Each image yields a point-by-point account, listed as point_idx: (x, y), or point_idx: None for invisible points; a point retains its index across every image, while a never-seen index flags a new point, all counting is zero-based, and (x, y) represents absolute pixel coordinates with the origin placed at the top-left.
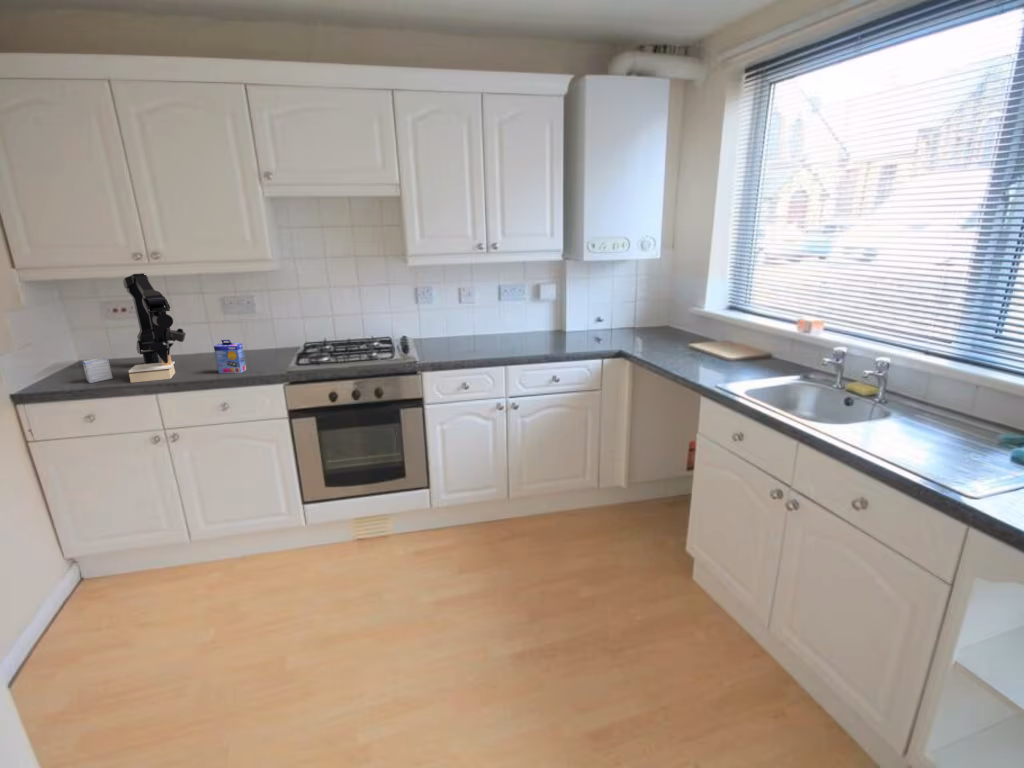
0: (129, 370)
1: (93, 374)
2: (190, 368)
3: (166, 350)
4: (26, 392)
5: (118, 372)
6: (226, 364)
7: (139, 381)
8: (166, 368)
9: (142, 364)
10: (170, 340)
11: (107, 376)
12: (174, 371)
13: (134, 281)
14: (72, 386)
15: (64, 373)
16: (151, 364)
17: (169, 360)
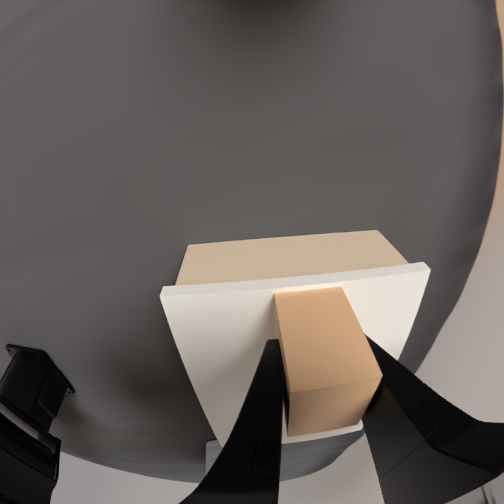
0: (347, 432)
1: None
2: (74, 167)
3: (483, 430)
4: (298, 477)
5: (141, 432)
6: None
7: None
8: (420, 288)
9: (216, 433)
10: (7, 499)
11: None
12: (203, 250)
13: None
14: (289, 459)
15: (146, 472)
16: (237, 409)
17: (358, 328)
